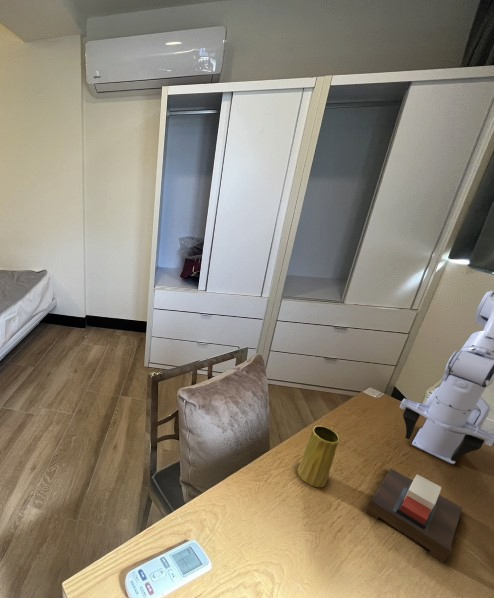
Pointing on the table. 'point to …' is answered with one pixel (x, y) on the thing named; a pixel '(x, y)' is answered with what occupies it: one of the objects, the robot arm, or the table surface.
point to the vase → (318, 456)
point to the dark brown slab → (431, 537)
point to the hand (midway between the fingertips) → (429, 447)
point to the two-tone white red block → (419, 501)
